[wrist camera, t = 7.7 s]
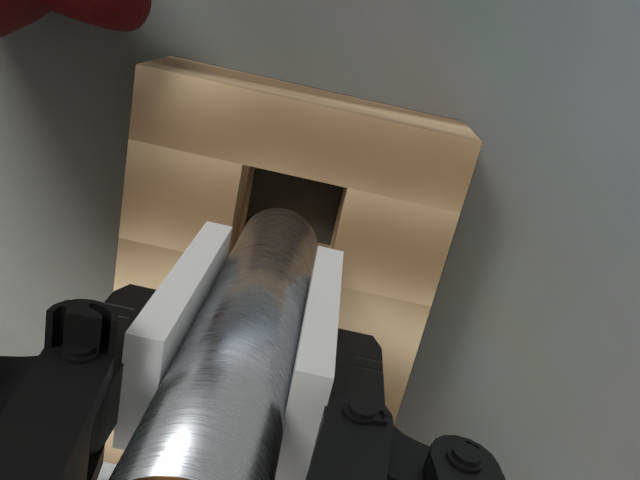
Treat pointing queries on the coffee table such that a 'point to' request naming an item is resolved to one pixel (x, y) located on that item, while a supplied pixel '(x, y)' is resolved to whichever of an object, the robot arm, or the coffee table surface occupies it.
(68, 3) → the mug
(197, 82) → the block
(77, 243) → the coffee table surface
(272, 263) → the pin
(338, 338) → the robot arm
